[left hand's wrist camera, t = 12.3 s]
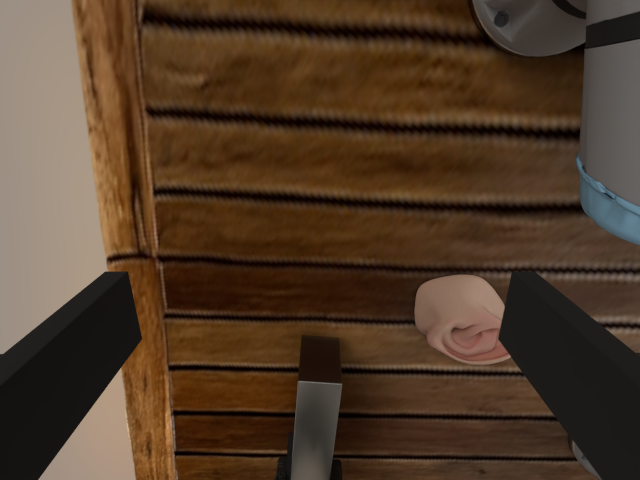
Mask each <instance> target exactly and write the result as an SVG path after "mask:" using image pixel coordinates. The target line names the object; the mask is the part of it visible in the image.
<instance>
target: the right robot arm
mask: <svg viewBox="0 0 640 480" xmlns="http://www.w3.org/2000/svg"><path fill="white" fill-rule="evenodd" d="M293 440H294V433H291V432H289V440H288V451H287V457H282V456H280V458H279V459H278V467H277V475H276V478H275V480H290V479H291V466H292V453H293ZM569 447H570V449H571V451H572V453H573V454H574V456H575V457H576V459H577V460H578V461H579V462H580V464H581V465H582V466H583V467H584V468H585V469H586V470H587V471H589V472H590V473H591V474H592V475H593V476H595V477H596V478H597V479H598V480H602V479H601V478H600V476H599V475H598V474H597V472H596V471H595V470H594V468H593V467H592V466H591V464H590V463H589V461H588V460H587V459H586V457H585V456H584V455H583V453H582V452H581V451H580V449H579V448H578V447H577V445H576V444H575V443H574V441H573V440H572V439H571V437H570V436H569ZM330 480H342V467H341V462H340V460H337V459H333V458H332V465H331V473H330Z"/></svg>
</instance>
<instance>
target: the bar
mask: <svg viewBox="0 0 640 480" xmlns="http://www.w3.org/2000/svg"><path fill="white" fill-rule="evenodd" d="M341 391H342V373H341V360H340V346H339V338H333V337H319V336H305V335H302V338H301V350H300V363H299V375H298V388H297V401H296V414H295V427H294V440H293V453H292V466H291V479H290V480H330V473H331V465H332V458H333V451H334V443H335V436H336V428H337V421H338V413H339V406H340V398H341Z"/></svg>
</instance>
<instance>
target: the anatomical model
mask: <svg viewBox="0 0 640 480" xmlns="http://www.w3.org/2000/svg"><path fill="white" fill-rule="evenodd" d="M504 308H505V306H504V304H503V302H502V301H501V299H500V297H499V296H498V294H497V293H496V292H495V290H494V289H493V288H492V287H491V286H490V285H489V284H488V283H487V282H486V281H485V280H484V279H482V278H480V277H478V276H474V275H451V276H445V277H440V278H436V279H433V280H429V281H427V282H425V283H423V284H422V285H421V286H420V287H419V289H418V291H417V295H416V300H415V311H414V313H415V323H416V326H417V328H418V330H419V331H420V332H421V333H423V334H424V335H426V336H427V342H428V344H429V345H430V346H431V347H433V348H435V349H436V350H438V351H440V352H442V353H444V354H445V355H447V356H449V357H451V358H452V359H454V360H457V361H459V362H462V363H466V364H473V365H485V364H493V363H497V362H501V361H504V360H506V359H508V358H510V357H511V356H510V355H509V353H508V352H507V351H506V349H505V348H504V347H503V345H502V344H501V342H500V341H499V340H498V336H499V331H500V327H501V322H502V317H503V313H504Z"/></svg>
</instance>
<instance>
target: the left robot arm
mask: <svg viewBox="0 0 640 480" xmlns="http://www.w3.org/2000/svg"><path fill="white" fill-rule="evenodd" d="M468 3H469V7H470V10H471V13H472V16H473V19H474V21H475V23H476V25H477V27H478V28H479V30H480V31H481V33H482V34H483V35H484V36H485V37H486V39H487V40H488V41H490V42H491V43H492V44H493V45H494V46H496V47H497V48H499V49H500V50H502V51H504V52H506V53H508V54H511V55H515V56H519V57H526V58H536V57H544V56H550V55H555V54H558V53H562V52H565V51H567V50H570V49H572V48H574V47H576V46H579V45H581V44H583V43H584V42H585V48H586V49H585V52H584V75H583V94H582V111H581V128H580V145H579V153H578V155H577V157H576V165H577V168H578V171H579V172H580V202H581V205H582V208H583V209H584V211H585V213H586V214H587V215H588V216H589V217H590V218H592V219H593V220H594V222H595V223H596V224H597V225H598V226H599V227H601V228H603V229H604V230H606V231H607V232H609V233H611V234H613V235H615V236H617V237H619V238H621V239H624V240H626V241H629V242H631V243H634V244H637V245H640V0H468ZM141 340H142V336H141V331H140V327H139V322H138V317H137V313H136V308H135V303H134V299H133V294H132V289H131V285H130V280H129V275H128V272H104V273H103V274H102V275H101V276H99V277H98V278H97V279H96V280H94V281H93V282H92V283H91V284H90V285H88V286H87V287H86V288H84V289H83V290H82V291H81V292H80V293H78V294H77V295H76V296H75V297H73V298H72V299H71V300H70V301H68V302H67V303H66V304H65V305H63V306H62V307H61V308H60V309H59V310H57V311H56V312H55V313H54V314H52V315H51V316H50V317H49V318H47V319H46V320H45V321H44V322H42V323H41V324H40V325H39V326H37V327H36V328H35V329H34V330H32V331H31V332H30V333H29V334H28V335H26V336H25V337H24V338H23V339H21V340H20V341H19V342H18V343H16V344H15V345H14V346H13V347H11V348H10V349H9V350H8V351H7V352H5V353H4V354H0V480H38V479H39V478H40V476H41V475H42V474H43V472H44V471H45V470H46V468H47V467H48V466H49V464H50V463H51V461H52V460H53V459H54V457H55V456H56V455H57V453H58V452H59V451H60V449H61V448H62V447H63V445H64V444H65V443H66V441H67V440H68V439H69V437H70V436H71V434H72V433H73V432H74V430H75V429H76V428H77V426H78V425H79V424H80V422H81V421H82V420H83V418H84V417H85V416H86V414H87V413H88V411H89V410H90V409H91V407H92V406H93V405H94V403H95V402H96V401H97V399H98V398H99V397H100V395H101V394H102V393H103V391H104V390H105V388H106V387H107V386H108V384H109V383H110V382H111V380H112V379H113V378H114V376H115V375H116V374H117V372H118V371H119V370H120V368H121V367H122V365H123V364H124V363H125V361H126V360H127V359H128V357H129V356H130V355H131V353H132V352H133V351H134V349H135V348H136V347H137V345H138V344H139V342H140V341H141ZM498 340H499V341H500V342H501V344H502V345H503V347H504V348H505V349H506V351H507V352H508V353H509V355H510V356H511V357H512V359H513V360H514V361H515V363H516V364H517V365H518V367H519V368H520V370H521V371H522V372H523V374H524V375H525V376H526V378H527V379H528V380H529V382H530V383H531V384H532V386H533V387H534V388H535V390H536V391H537V393H538V394H539V395H540V397H541V398H542V399H543V401H544V402H545V403H546V405H547V406H548V407H549V409H550V410H551V411H552V413H553V414H554V416H555V417H556V418H557V420H558V421H559V422H560V424H561V425H562V426H563V428H564V429H565V430H566V432H567V433H568V434H569V436H570V437H571V439H572V440H573V441H574V443H575V444H576V445H577V447H578V448H579V449H580V451H581V452H582V453H583V455H584V456H585V457H586V459H587V460H588V461H589V463H590V464H591V466H592V467H593V468H594V470H595V471H596V472H597V474H598V475H599V476H600V478H601V479H602V480H640V353H635V352H634V351H632V350H631V349H630V348H629V347H627V346H626V345H625V344H624V343H622V342H621V341H620V340H619V339H617V338H616V337H615V336H614V335H612V334H611V333H610V332H609V331H608V330H606V329H605V328H604V327H603V326H601V325H600V324H599V323H598V322H596V321H595V320H594V319H593V318H591V317H590V316H589V315H588V314H586V313H585V312H584V311H583V310H582V309H580V308H579V307H578V306H577V305H575V304H574V303H573V302H572V301H570V300H569V299H568V298H567V297H565V296H564V295H563V294H562V293H560V292H559V291H558V290H557V289H556V288H554V287H553V286H552V285H551V284H549V283H548V282H547V281H546V280H544V279H543V278H542V277H541V276H539V275H538V274H537V273H536V272H512V275H511V280H510V285H509V289H508V294H507V299H506V303H505V308H504V313H503V317H502V322H501V327H500V331H499V336H498Z"/></svg>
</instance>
